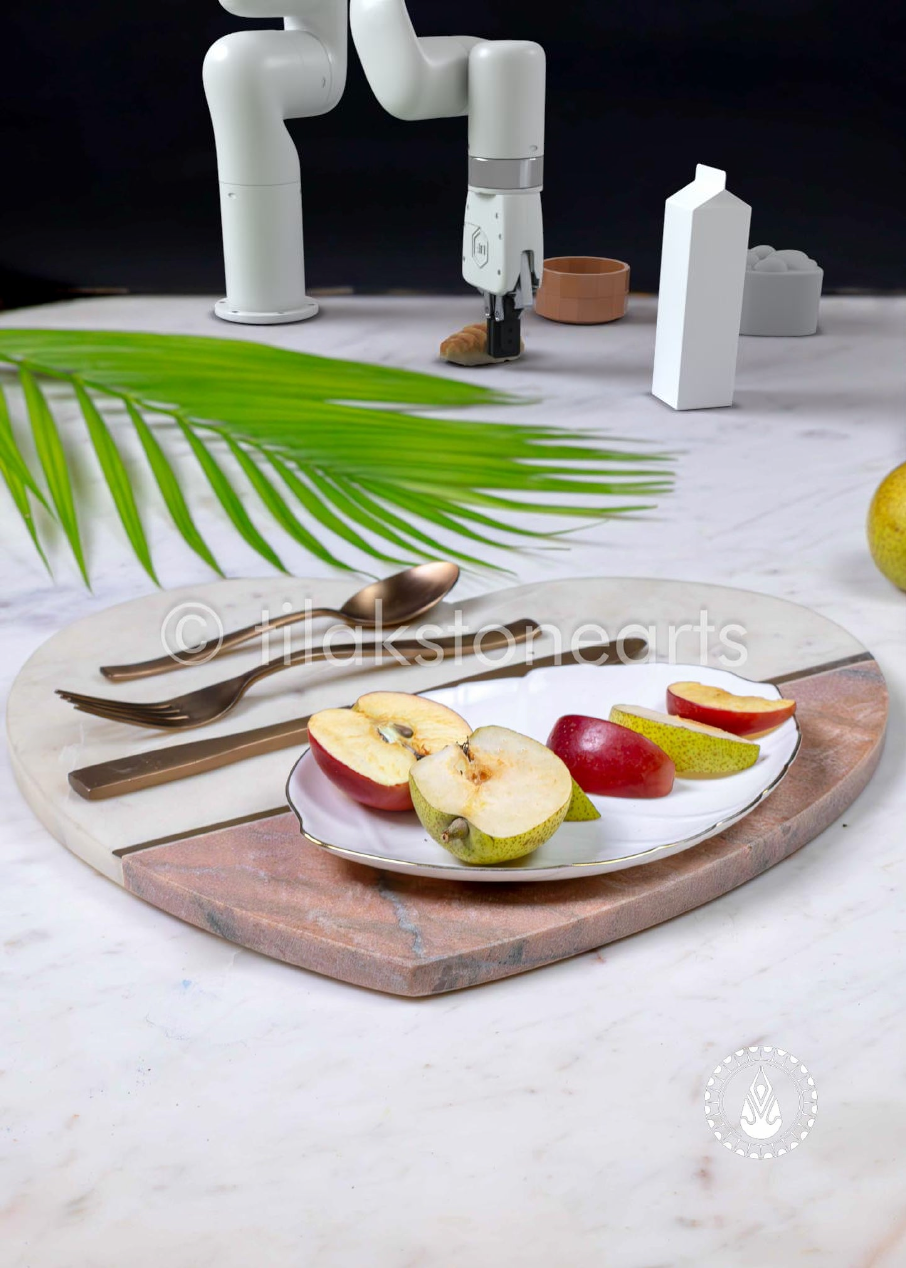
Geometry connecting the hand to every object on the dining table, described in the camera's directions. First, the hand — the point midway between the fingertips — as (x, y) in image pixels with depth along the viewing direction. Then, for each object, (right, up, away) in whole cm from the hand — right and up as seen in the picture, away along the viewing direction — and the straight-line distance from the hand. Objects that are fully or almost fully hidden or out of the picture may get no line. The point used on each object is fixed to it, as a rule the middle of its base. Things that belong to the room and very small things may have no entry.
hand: (503, 355), depth 144 cm
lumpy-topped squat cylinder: (+31, +7, +19) cm, 37 cm away
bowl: (+10, +10, +23) cm, 27 cm away
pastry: (-2, 0, +4) cm, 5 cm away
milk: (+18, -7, -9) cm, 22 cm away
